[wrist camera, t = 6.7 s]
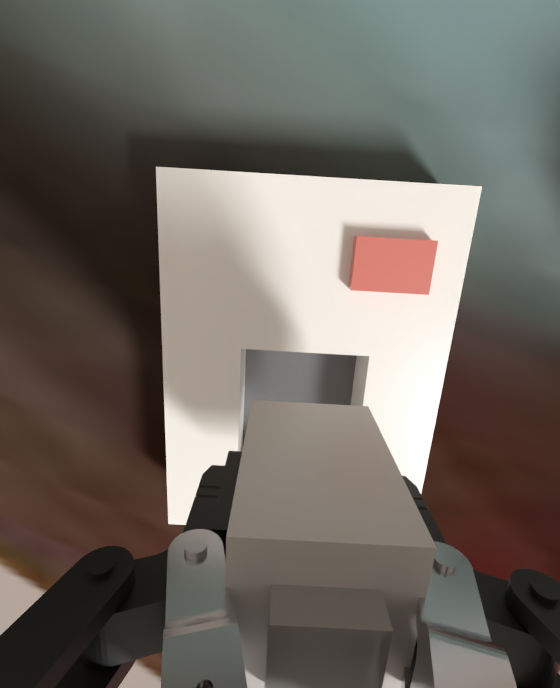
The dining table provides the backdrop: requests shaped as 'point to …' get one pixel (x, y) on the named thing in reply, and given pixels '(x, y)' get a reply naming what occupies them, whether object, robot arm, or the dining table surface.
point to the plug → (324, 550)
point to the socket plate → (304, 306)
